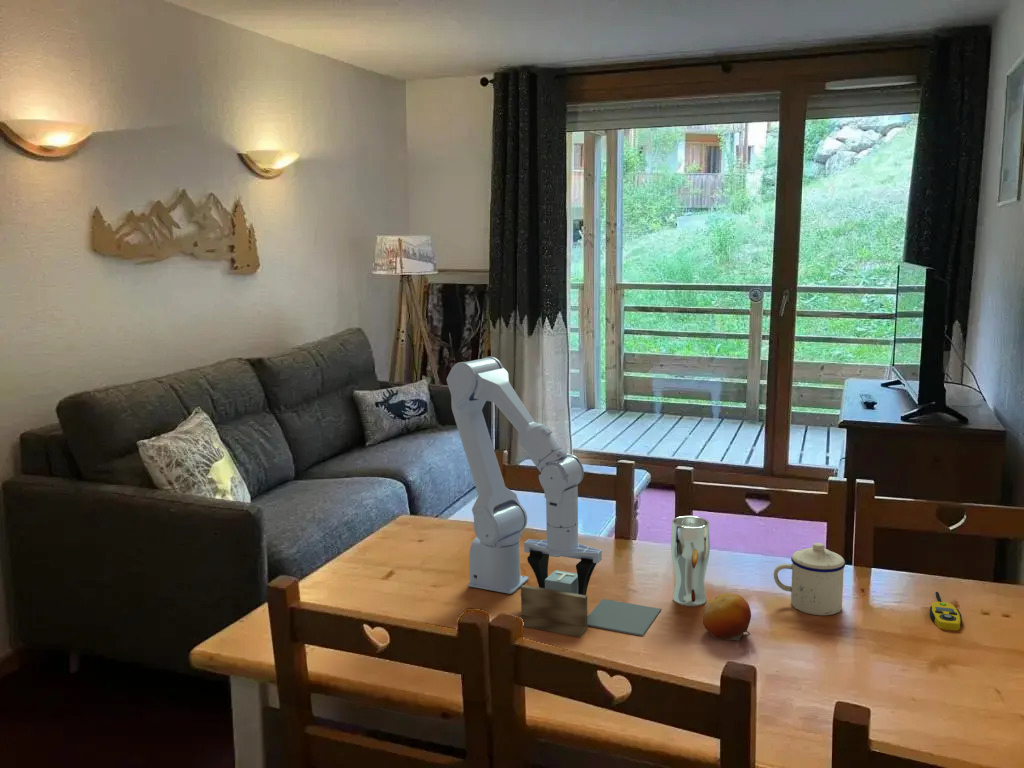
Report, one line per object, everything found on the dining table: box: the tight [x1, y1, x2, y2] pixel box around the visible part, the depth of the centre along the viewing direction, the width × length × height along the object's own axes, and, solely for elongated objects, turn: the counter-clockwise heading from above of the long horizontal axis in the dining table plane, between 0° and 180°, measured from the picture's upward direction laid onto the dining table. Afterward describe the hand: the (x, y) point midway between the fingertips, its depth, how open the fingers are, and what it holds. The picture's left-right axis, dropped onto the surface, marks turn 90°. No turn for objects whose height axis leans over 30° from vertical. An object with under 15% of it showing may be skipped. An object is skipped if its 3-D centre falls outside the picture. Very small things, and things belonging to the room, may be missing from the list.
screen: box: [519, 584, 588, 638], centre depth 148 cm, size 12×4×6 cm, turn 64°
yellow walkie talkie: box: [929, 591, 963, 632], centre depth 151 cm, size 5×2×15 cm
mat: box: [587, 598, 662, 637], centre depth 151 cm, size 11×11×1 cm
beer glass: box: [670, 515, 711, 607], centre depth 157 cm, size 7×7×15 cm
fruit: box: [701, 592, 752, 642], centre depth 144 cm, size 8×8×8 cm
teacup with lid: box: [773, 542, 846, 616], centre depth 154 cm, size 12×9×12 cm
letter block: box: [545, 569, 578, 594], centre depth 158 cm, size 5×5×5 cm
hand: (562, 593), depth 158 cm, fingers open, 7 cm apart
